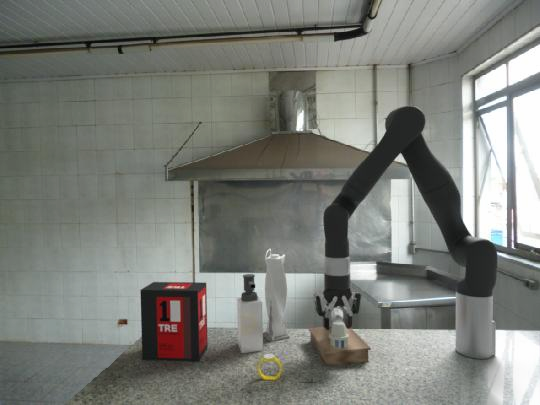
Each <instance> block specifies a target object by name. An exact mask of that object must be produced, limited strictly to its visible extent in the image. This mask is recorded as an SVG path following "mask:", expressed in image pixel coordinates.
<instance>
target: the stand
mask: <svg viewBox="0 0 540 405" xmlns="http://www.w3.org/2000/svg"><path fill="white" fill-rule="evenodd" d="M345 327H346V325H345ZM308 331H309V333H310V342H311V344H312V345H313V347H314V349H315V350H316V351H317V353H318V355H319V357H320V358H321V360H322V361H323V363H324V364H325V366H334V365H336V366H337V365H345V364H358V363H368V362H369V351H371V349H372V348H371V347H370V346H369V345H368V343H366V341H365V340H364V339H363V338H362V337H360V335H359V334H358V333H357V332H356V331H355V330H353V329H352V327H350V329H347V328H346V333H347V334H349V339H348V346H346V347H345V348H336V347H333V345H330V338H329V333H331V331H332V325H331V326H329V330H326V329H325V328H324V327H323V326H319V327H308Z"/></svg>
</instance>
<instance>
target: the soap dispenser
mask: <svg viewBox="0 0 540 405" xmlns="http://www.w3.org/2000/svg"><path fill="white" fill-rule="evenodd" d="M255 276H256V275H255V274H254V273H250V274H249V273H246V274H243V275H242V277H243V292H242V293H241V297H236V302H237V303H236V306H237V309H236V310H237V313H236V314H237V318H236V319H237V345H238V348H239V350H240V353H241V354H247V353H251V352H253V353H255V352H261V351H262V352H263V351H264V337H263V332H264V330H263V329H264V328H263V325H264V324H263V321H264V320H263V317H264V316H263V302H262V300H261V298H259V296H258V293H257V292H256V291H255V289H256V284H255Z"/></svg>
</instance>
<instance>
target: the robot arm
mask: <svg viewBox="0 0 540 405" xmlns="http://www.w3.org/2000/svg"><path fill="white" fill-rule="evenodd" d="M384 122H385V123H384V127H385V133H383V136H382V137H381V139H380V141H378V143H377V145H376V146H375V147H374V149H372V151H371V152H370V153H369V154H368V155H367V156H366V157H365V159H364V160H363V161H362V162H360V164H359V165H358V166H357V167H356V168H355V169H354V171H353V172H352V173H351V175H350V176H349V177H348V179H347V180H346V181H345V183H344V184H343V186H342V188H341V190H340V192H339V194H338V195H336V197H335V198H334V199H333V201H332V202H331V203H330V205H328V206H327V207H326V208H325V210H324V211H323V216H322V217H323V219H322V220H323V221H322V222H323V231H324V261H323V262H324V263H323V272H324V273H323V280H324V281H323V283H324V284H323V285H324V287H323V288H324V290H323V292H322V293H319V294H317V293H315V294H313V299H314V300H313V301H314V306H315V312H316V314H317V315H318V316H319V317H322V327H324V328H325V329H326V330H329V327H330V312H331V311H332V309H333V307H338V306H339V307H340V308H343V310H344V312H345V313H344V318H345V322H344V324H345V325H346V328H347V329H350V328H352V326H353V315H355V314H356V315H357V314H359V313H360V304H361V299H362V294H361V293H360V292H358V291H352V289H351V261H350V260H351V259H350V242H349V236H348V234H349V220H350V219H351V218H352V215H353V214H354V213H355V211H356V210H357V209H358V207H359V205H360V204H361V203H362V202H363V201H364V200H365V199H366V197H368V195H369V193H370V192H371V191H372V190H373V188H374V187H375V186H376V184H377V183H378V181H379V180H380V178H382V176H383V175H384V173H385V172H386V171H387V170H388V168H389V167H390V166H391V165H392V163H393V162H394V161H395V160H396V159H397V157H398V156H400V155H401V156H402V157H403V159H404V161H405V163H406V166H407V169H408V171H409V173H410V175H411V177H412V179H413V181H414V183H415V186H416V188H417V189H418V191H419V193H420V195H421V197H422V200H423V201H424V202H425V205H426V207H427V208H428V210H429V211H430V213H431V215H432V218H433V219H434V221H435V223H436V224H437V227H438V228H439V230H440V233H441V235H442V237H443V240H444V243H445V244H446V248H447V251H448V253H449V254H450V257H451V259H452V260H453V261H454V263H456V264H457V265H459V266H460V267H463V268H465V273H464V278H463V279H458V280H457V281H456V283H455V350H456V352H458V354H460V355H463V356H464V357H468V358H472V359H479V360H485V359H486V360H487V359H491V357H493V356H496V353H497V352H496V343H497V342H496V341H497V340H496V339H497V338H496V337H497V336H496V334H497V332H496V331H497V330H496V329H497V328H496V327H497V326H496V321H495V320H493V312H494V311H493V307H494V306H493V305H494V304H493V301H494V300H493V299H494V298H493V295H494V294H493V293H494V288H495V286H496V283H497V271H498V251H497V248H496V246H495V244H494V243H493V242H492V241H491V240H489V239H486V238H482V237H476V236H473V235H472V234H471V233H470V230H468V228H467V226H466V224H465V222H464V220H463V217H462V200H461V199H462V198H461V194H460V190H459V188H458V187H457V184H456V182H455V180H454V178H453V177H452V175H451V174H450V172H449V170H448V169H447V167H446V166H445V165H444V164H443V162H442V161H441V160H440V159H439V158H438V157H437V156H436V155H435V154H434V153H433V151H432V149H430V147H429V145H428V144H427V142H426V140H425V137H424V135H423V131H424V129H425V127H426V115H425V114H424V112H423V110H422V109H421V108H419V107H417V106H415V105H404V106H401V107H397V108H396V109H393V110H392V111H390V112H389V113H388V114H387V116H386V117H385V121H384ZM351 298H352V304H351V306H350V303H349V301H350V299H351ZM323 299H325V301H326V302H325V304H324V308H322V303H323Z"/></svg>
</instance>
